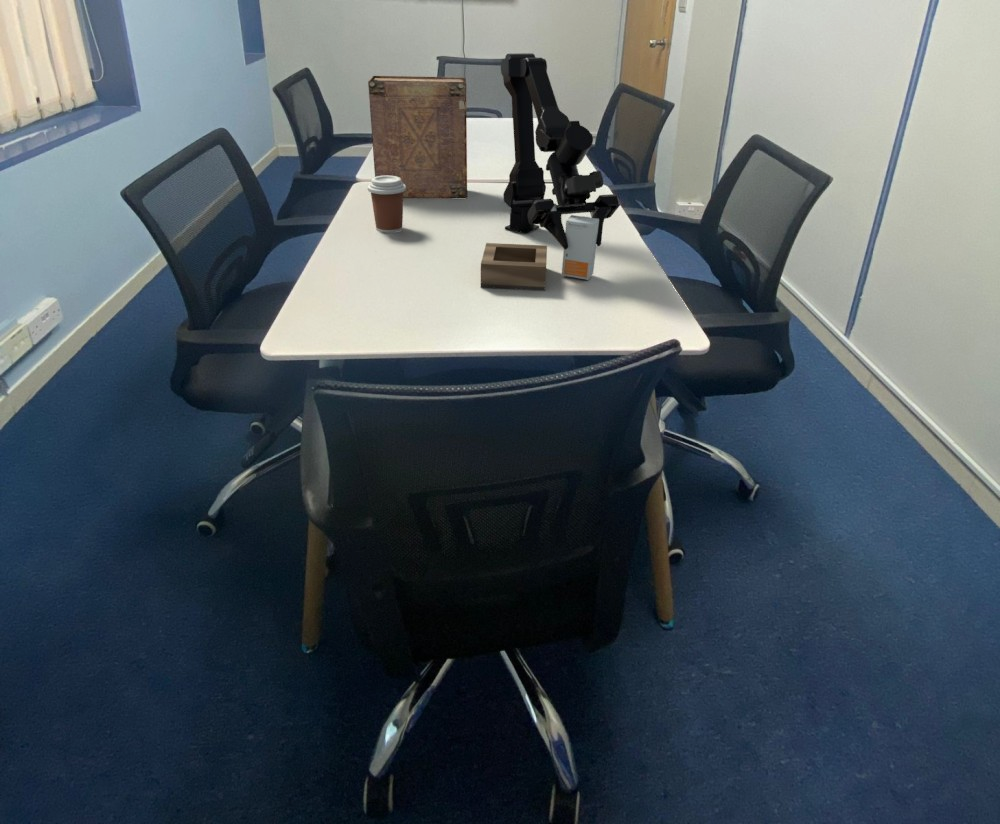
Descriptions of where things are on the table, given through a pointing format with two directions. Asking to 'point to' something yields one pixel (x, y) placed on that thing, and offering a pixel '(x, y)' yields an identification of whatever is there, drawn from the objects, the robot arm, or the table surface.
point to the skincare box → (580, 247)
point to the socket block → (514, 266)
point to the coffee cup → (387, 202)
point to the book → (420, 133)
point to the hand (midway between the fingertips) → (583, 246)
